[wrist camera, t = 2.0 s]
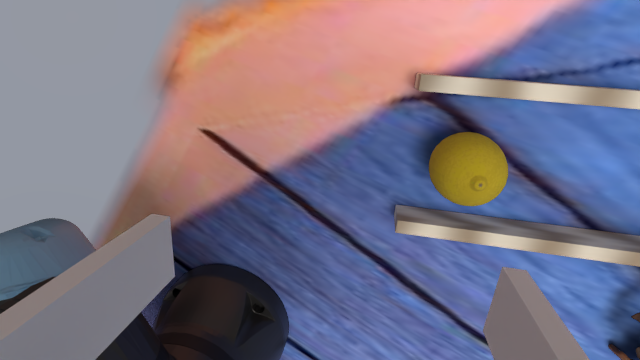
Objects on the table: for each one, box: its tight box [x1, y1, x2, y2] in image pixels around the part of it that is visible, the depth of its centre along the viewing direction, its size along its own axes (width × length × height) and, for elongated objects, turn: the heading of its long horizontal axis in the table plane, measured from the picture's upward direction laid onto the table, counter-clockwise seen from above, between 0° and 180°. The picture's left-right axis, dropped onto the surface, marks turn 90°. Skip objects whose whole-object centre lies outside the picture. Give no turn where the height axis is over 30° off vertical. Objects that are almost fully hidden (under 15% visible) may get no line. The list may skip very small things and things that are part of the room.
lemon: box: [429, 132, 508, 206], centre depth 26 cm, size 6×6×8 cm
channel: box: [394, 73, 640, 267], centre depth 28 cm, size 25×13×4 cm, turn 86°
